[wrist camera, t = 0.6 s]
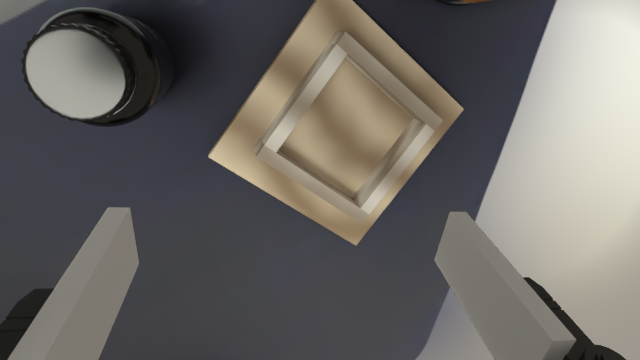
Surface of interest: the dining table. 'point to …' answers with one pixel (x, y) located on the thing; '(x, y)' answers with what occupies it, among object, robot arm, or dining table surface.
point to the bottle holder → (337, 120)
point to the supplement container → (459, 2)
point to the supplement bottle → (97, 66)
